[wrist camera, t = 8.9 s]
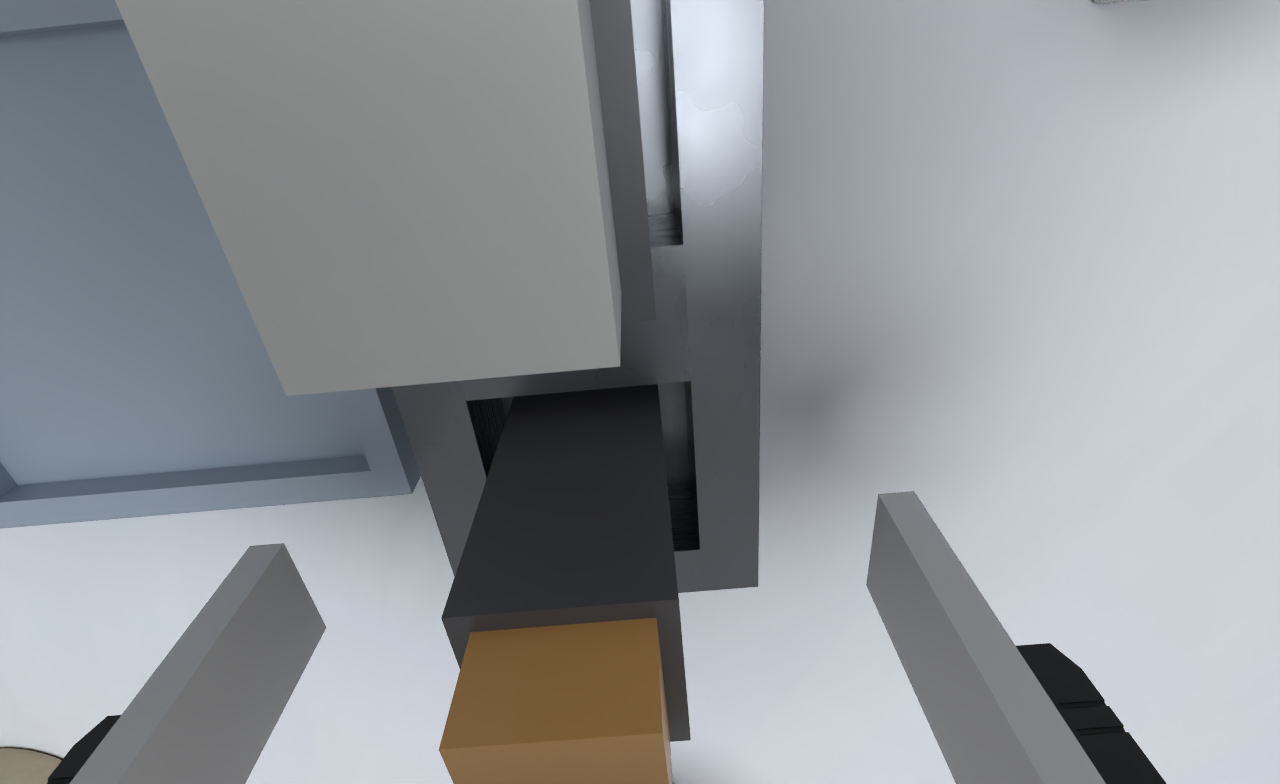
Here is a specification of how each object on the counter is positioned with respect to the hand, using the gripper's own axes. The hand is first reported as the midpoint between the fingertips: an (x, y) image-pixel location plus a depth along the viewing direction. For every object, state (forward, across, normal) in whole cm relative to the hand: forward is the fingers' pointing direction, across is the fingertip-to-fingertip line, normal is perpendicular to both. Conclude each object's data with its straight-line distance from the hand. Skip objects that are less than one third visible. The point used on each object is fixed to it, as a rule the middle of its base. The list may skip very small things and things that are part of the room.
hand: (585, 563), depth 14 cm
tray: (+7, -13, +6) cm, 16 cm away
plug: (+6, 0, 0) cm, 6 cm away
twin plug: (+6, 0, +9) cm, 11 cm away
